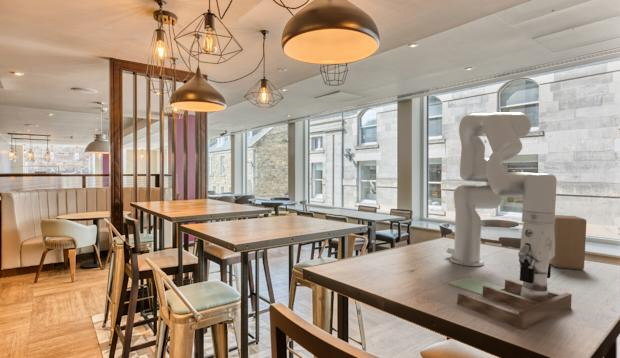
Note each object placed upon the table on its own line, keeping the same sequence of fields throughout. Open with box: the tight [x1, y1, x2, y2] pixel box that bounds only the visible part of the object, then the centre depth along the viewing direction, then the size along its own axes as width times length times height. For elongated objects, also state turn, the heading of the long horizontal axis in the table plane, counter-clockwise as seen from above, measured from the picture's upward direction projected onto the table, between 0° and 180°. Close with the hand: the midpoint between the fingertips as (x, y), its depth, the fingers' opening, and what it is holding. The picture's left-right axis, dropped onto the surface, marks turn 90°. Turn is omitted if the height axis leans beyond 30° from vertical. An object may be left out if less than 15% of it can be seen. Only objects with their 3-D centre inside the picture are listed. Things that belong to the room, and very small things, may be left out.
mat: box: [447, 276, 506, 296], centre depth 109 cm, size 12×12×1 cm
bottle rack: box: [456, 278, 573, 331], centre depth 93 cm, size 17×26×4 cm
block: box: [551, 214, 587, 271], centre depth 136 cm, size 10×10×20 cm
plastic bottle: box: [519, 250, 551, 303], centre depth 94 cm, size 6×7×20 cm
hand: (535, 279), depth 94 cm, fingers open, 9 cm apart
